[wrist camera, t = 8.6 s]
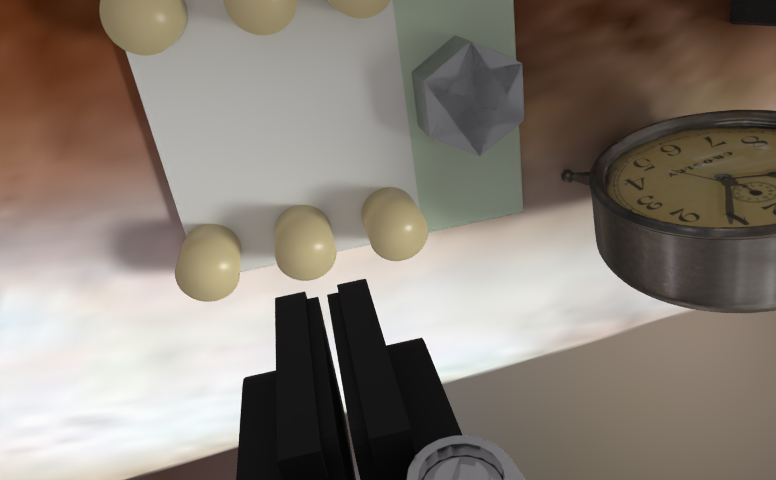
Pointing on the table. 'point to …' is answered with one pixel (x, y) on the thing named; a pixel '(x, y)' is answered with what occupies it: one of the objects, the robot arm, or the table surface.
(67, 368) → the table surface
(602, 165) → the alarm clock
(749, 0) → the ammunition clip
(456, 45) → the grey faceted block
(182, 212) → the spacer board
